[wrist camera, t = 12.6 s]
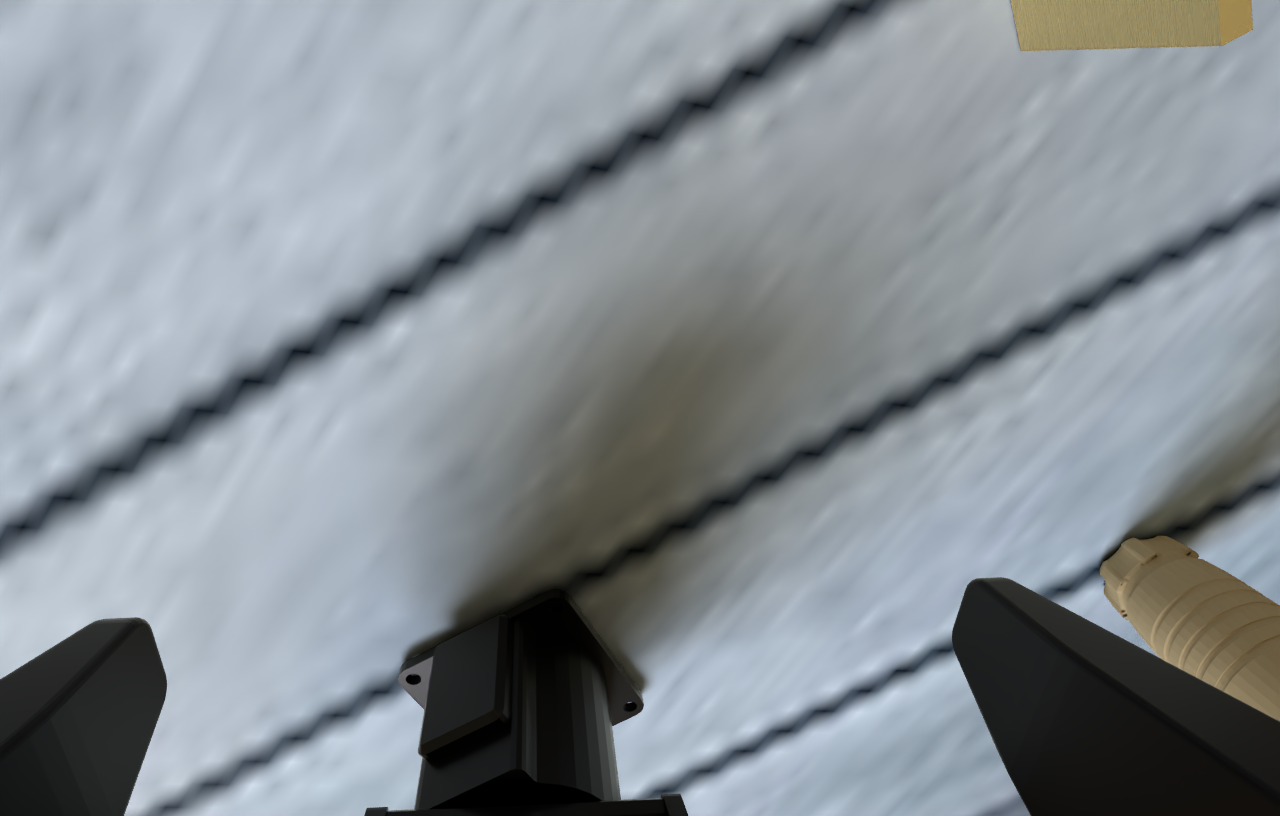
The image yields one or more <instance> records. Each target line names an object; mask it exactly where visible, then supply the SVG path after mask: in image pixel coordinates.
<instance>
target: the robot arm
mask: <svg viewBox="0 0 1280 816" xmlns="http://www.w3.org/2000/svg"><path fill="white" fill-rule="evenodd" d="M554 603H559V604H561V605H560V606H558V607H552V606H550V605H551V604H554ZM952 643H953V647H954V651H955V654H956V656H957V659H958V661H959V663H960V665H961V668H962V670H963V672H964V675H965V677H966V679H967V682H968V684H969V686H970V688H971V691H972V693H973V695H974V698H975V700H976V702H977V704H978V707H979V709H980V711H981V714H982V716H983V718H984V720H985V723H986V725H987V727H988V730H989V732H990V734H991V736H992V739H993V741H994V743H995V746H996V748H997V750H998V753H999V755H1000V757H1001V759H1002V761H1003V763H1004V765H1005V767H1006V770H1007V772H1008V774H1009V776H1010V778H1011V780H1012V781H1013V783H1014V785H1015V787H1016V789H1017V791H1018V793H1019V795H1020V797H1021V799H1022V800H1023V802H1024V804H1025V806H1026V808H1027V809H1028V811H1029V813H1030V815H1031V816H1280V721H1278V720H1276V719H1274V718H1272V717H1270V716H1269V715H1267V714H1265V713H1263V712H1261V711H1259V710H1257V709H1255V708H1253V707H1251V706H1250V705H1248V704H1246V703H1244V702H1242V701H1240V700H1238V699H1236V698H1234V697H1232V696H1231V695H1229V694H1227V693H1225V692H1223V691H1221V690H1219V689H1217V688H1215V687H1214V686H1212V685H1210V684H1208V683H1206V682H1204V681H1202V680H1200V679H1198V678H1196V677H1195V676H1193V675H1191V674H1189V673H1187V672H1185V671H1183V670H1181V669H1179V668H1178V667H1176V666H1174V665H1172V664H1170V663H1168V662H1166V661H1164V660H1162V659H1160V658H1159V657H1157V656H1155V655H1153V654H1151V653H1149V652H1147V651H1145V650H1143V649H1141V648H1140V647H1138V646H1136V645H1134V644H1132V643H1130V642H1128V641H1126V640H1124V639H1123V638H1121V637H1119V636H1117V635H1115V634H1113V633H1111V632H1109V631H1107V630H1105V629H1104V628H1102V627H1100V626H1098V625H1096V624H1094V623H1092V622H1090V621H1088V620H1087V619H1085V618H1083V617H1081V616H1079V615H1077V614H1075V613H1073V612H1071V611H1069V610H1068V609H1066V608H1064V607H1062V606H1060V605H1058V604H1056V603H1054V602H1052V601H1051V600H1049V599H1047V598H1045V597H1043V596H1041V595H1039V594H1037V593H1035V592H1033V591H1032V590H1030V589H1028V588H1026V587H1024V586H1022V585H1020V584H1018V583H1016V582H1014V581H1013V580H1010V579H1008V578H1002V577H997V578H978V579H975V580H972V581H971V582H970V583H969V584H968V585H967V588H966V590H965V593H964V596H963V599H962V602H961V605H960V608H959V612H958V615H957V618H956V621H955V624H954V627H953V631H952ZM410 674H417V675H418V676H412V675H410ZM398 682H399V684H400V685H401V686H402V687H403V688H404V689H405V690H406V691H407V692H408V693H409V694H410V696H411V697H412V698H413V699H414V700H415V701H416V702H417V703H418V704H419V705H420V706H421V707H422V708H423V709H424V716H423V722H422V729H421V735H420V741H419V747H418V754H419V755H420V756H421V757H422V764H421V770H420V777H419V783H418V789H417V796H416V802H415V809H414V810H394V811H388V807H379V808H367V809H366V812H365V815H364V816H688V813H687V811H686V808H685V805H684V802H683V800H682V797H681V795H680V794H665V795H661V798H654V799H632V800H621V797H620V788H619V780H618V772H617V764H616V756H615V748H614V739H613V731H612V726H614V725H616V724H618V723H620V722H622V721H624V720H627V719H629V718H631V717H633V716H635V715H637V714H638V713H640V712H641V711H642V709H643V706H644V703H643V698H642V694H641V692H640V691H639V689H638V688H637V687H636V685H635V684H634V683H633V681H632V680H631V679H630V677H629V676H628V674H627V673H626V672H625V670H624V669H623V668H622V666H621V665H620V664H619V662H618V661H617V660H616V658H615V657H614V656H613V654H612V653H611V652H610V650H609V649H608V647H607V646H606V645H605V643H604V642H603V641H602V639H601V638H600V637H599V635H598V634H597V633H596V631H595V630H594V629H593V627H592V626H591V624H590V623H589V622H588V620H587V619H586V618H585V616H584V615H583V614H582V612H581V611H580V610H579V608H578V607H577V606H576V604H575V603H574V601H573V600H572V599H571V597H570V596H569V595H568V594H567V593H566V592H565V591H562V590H557V589H553V590H550V591H547V592H545V593H543V594H541V595H539V596H537V597H535V598H533V599H531V600H529V601H527V602H525V603H523V604H521V605H519V606H517V607H515V608H513V609H511V610H509V611H507V612H505V613H503V614H501V615H498V616H495V617H493V618H491V619H489V620H487V621H485V622H483V623H481V624H479V625H477V626H475V627H473V628H471V629H469V630H467V631H465V632H463V633H461V634H459V635H457V636H455V637H453V638H451V639H449V640H447V641H445V642H443V643H441V644H439V645H437V646H436V647H435V648H433V649H431V650H429V651H427V652H424V653H422V654H420V655H418V656H416V657H414V658H412V659H410V660H408V661H406V662H405V663H404V664H402V666H401V668H400V672H399V676H398ZM166 690H167V680H166V674H165V671H164V668H163V664H162V661H161V658H160V655H159V651H158V648H157V645H156V642H155V638H154V635H153V632H152V629H151V627H150V625H149V624H148V623H147V621H145V620H144V619H141V618H116V619H103V620H98V621H95V622H93V623H91V624H89V625H87V626H86V627H84V628H83V629H81V630H79V631H78V632H76V633H75V634H73V635H71V636H70V637H68V638H66V639H65V640H63V641H62V642H60V643H58V644H57V645H55V646H54V647H52V648H50V649H49V650H47V651H45V652H44V653H42V654H41V655H39V656H37V657H36V658H34V659H33V660H31V661H29V662H28V663H26V664H24V665H23V666H21V667H20V668H18V669H16V670H15V671H13V672H12V673H10V674H8V675H7V676H5V677H3V678H2V679H0V816H124V814H125V811H126V808H127V805H128V803H129V800H130V797H131V794H132V791H133V789H134V786H135V783H136V780H137V777H138V774H139V772H140V769H141V766H142V763H143V760H144V758H145V755H146V752H147V749H148V746H149V743H150V741H151V738H152V735H153V732H154V729H155V726H156V724H157V721H158V718H159V715H160V712H161V710H162V707H163V704H164V701H165V696H166ZM628 702H631V703H628Z"/></svg>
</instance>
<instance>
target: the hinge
mask: <svg viewBox="0 0 1280 816" xmlns="http://www.w3.org/2000/svg"><path fill="white" fill-rule="evenodd" d="M1011 5H1012V10H1013V15H1014V20H1015V25H1016V30H1017V34H1018V39H1019V44H1020V49H1021V51H1047V50H1085V49H1123V48H1160V47H1198V46H1222V45H1224V44H1226V43H1228V42H1230V41H1232V40H1234V39H1236V38H1238V37H1240V36H1241V35H1243V34H1245V33H1247V32H1249V31H1251V30H1253V23H1252V6H1251V0H1011Z"/></svg>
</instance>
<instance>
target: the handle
mask: <svg viewBox="0 0 1280 816" xmlns="http://www.w3.org/2000/svg"><path fill="white" fill-rule="evenodd" d="M1198 557H1199V555H1198V554H1197V553H1196V552H1195V551H1193V550H1192V549H1190V548H1188V547H1187V546H1185V545H1183V544H1182V543H1180V542H1178V541H1176V540H1174V539H1172V538H1170V537H1167V536H1156V537H1155V538H1151V539H1145V540H1138V539H1136V538H1130V539H1128V540H1126V541H1124V542H1123V543H1122V544H1121V547H1120V548H1119V550H1118V551H1117V552H1116V553H1115V554H1114V555H1113V556H1112V557H1111V558H1109V559H1108V560H1106V561H1104V562H1103V563H1102V565H1101V568H1100V575H1101V576H1102V577H1103V578H1104V579H1105V588H1104V594H1105V596H1106V597H1107V599H1108V600H1109V601H1110V603H1111V604H1112V606H1113V607H1114V608H1115V609H1116V610H1117V611H1118V612H1119V613H1120V614H1121V616H1122V617H1123V618H1125V619H1127V620H1129V621H1130V623H1131V624H1132V625H1133V627H1134V628H1135V629H1136V631H1137V632H1138V633H1139V635H1140V636H1141V637H1142V638H1143V639H1144V640H1145V642H1146V643H1147V644H1148V645H1149V646H1150V647H1151V648H1152V650H1153V651H1154V652H1155V653H1156V654H1157V655H1158V656H1159V657H1160V658H1161V659H1162V660H1164V661H1166V662H1168V663H1170V664H1172V665H1174V666H1176V667H1178V668H1179V669H1181V670H1183V671H1185V672H1187V673H1189V674H1191V675H1193V676H1195V677H1196V678H1198V679H1200V680H1202V681H1204V682H1206V683H1208V684H1210V685H1212V686H1214V687H1215V688H1217V689H1219V690H1221V691H1223V692H1225V693H1227V694H1229V695H1231V696H1232V697H1234V698H1236V699H1238V700H1240V701H1242V702H1244V703H1246V704H1248V705H1250V706H1251V707H1253V708H1255V709H1257V710H1259V711H1261V712H1263V713H1265V714H1267V715H1269V716H1270V717H1272V718H1274V719H1276V720H1278V721H1280V606H1279V605H1278V604H1276V603H1275V602H1273V601H1272V600H1270V599H1268V598H1266V597H1265V596H1264V595H1262V594H1261V593H1259V592H1258V591H1256V590H1255V589H1253V588H1252V587H1250V586H1248V585H1247V584H1245V583H1244V582H1242V581H1241V580H1239V579H1237V578H1236V577H1234V576H1232V575H1231V574H1229V573H1227V572H1226V571H1224V570H1222V569H1220V568H1218V567H1216V566H1214V565H1212V564H1210V563H1209V562H1207V561H1205V560H1203V559H1198Z"/></svg>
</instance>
